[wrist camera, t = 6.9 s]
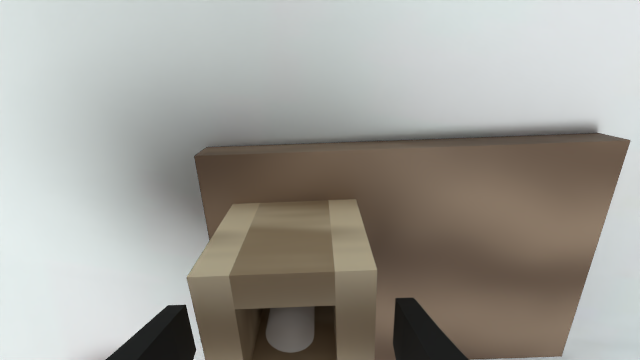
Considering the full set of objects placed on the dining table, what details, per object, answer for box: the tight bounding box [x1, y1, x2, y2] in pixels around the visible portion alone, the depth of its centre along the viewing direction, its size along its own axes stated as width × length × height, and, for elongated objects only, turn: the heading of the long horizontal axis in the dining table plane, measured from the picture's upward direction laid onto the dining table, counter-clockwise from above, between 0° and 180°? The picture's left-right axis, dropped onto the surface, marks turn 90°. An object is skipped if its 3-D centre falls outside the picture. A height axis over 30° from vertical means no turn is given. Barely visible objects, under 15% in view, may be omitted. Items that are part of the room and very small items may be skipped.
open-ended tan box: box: [187, 199, 377, 360], centre depth 12 cm, size 5×5×5 cm
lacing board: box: [194, 133, 630, 360], centre depth 13 cm, size 12×18×6 cm, turn 92°
